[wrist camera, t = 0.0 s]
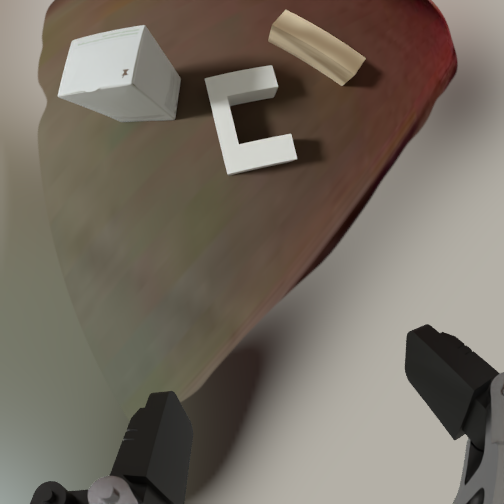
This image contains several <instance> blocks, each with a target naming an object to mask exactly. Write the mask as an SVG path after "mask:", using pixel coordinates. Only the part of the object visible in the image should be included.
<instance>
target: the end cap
mask: <svg viewBox="0 0 504 504" xmlns="http://www.w3.org/2000/svg"><path fill="white" fill-rule="evenodd" d="M205 83H206V87H207V91H208V95H209V100H210V104H211V108H212V112H213V116H214V120H215V125H216V129H217V133H218V137H219V141H220V145H221V149H222V154H223V158H224V162H225V166H226V170H227V174H228V175H229V176H230V175H234V174H238V173H242V172H246V171H251V170H255V169H260V168H264V167H269V166H273V165H278V164H283V163H288V162H291V161H294V160H296V159H297V156H296V151H295V147H294V143H293V139H292V135H291V134H287V135H282V136H276V137H271V138H266V139H261V140H257V141H252V142H247V143H243V144H239V143H238V139H237V134H236V130H235V126H234V122H233V118H232V114H231V110H230V106H233V105H238V104H243V103H247V102H252V101H258V100H263V99H269V98H274V96H275V93H276V91H277V89H278V84H277V80H276V77H275V74H274V70H273V67H272V65H270V66H263V67H257V68H251V69H246V70H240V71H235V72H230V73H226V74H221V75H217V76H213V77H209V78H205Z"/></svg>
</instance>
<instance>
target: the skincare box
mask: <svg viewBox="0 0 504 504" xmlns="http://www.w3.org/2000/svg"><path fill="white" fill-rule="evenodd" d="M180 82H181V78H180V76H179V75H178V73H177V72H176V70H175V69H174V67H173V66H172V64H171V63H170V61H169V60H168V58H167V57H166V55H165V54H164V52H163V51H162V49H161V48H160V46H159V45H158V43H157V42H156V41H155V39H154V38H153V36H152V35H151V33H150V32H149V30H148V29H147V27H146V26H145V25H141V26H135V27H129V28H123V29H118V30H113V31H108V32H103V33H99V34H95V35H91V36H87V37H83V38H79V39H76V40H73V41H72V43H71V46H70V50H69V53H68V57H67V61H66V64H65V68H64V72H63V76H62V80H61V84H60V89H59V93H58V97H59V98H62V99H65V100H67V101H70V102H73V103H76V104H78V105H81V106H83V107H86V108H89V109H91V110H94V111H96V112H99V113H101V114H104V115H106V116H109V117H111V118H113V119H116V120H118V121H120V122H135V121H163V120H175V118H176V110H177V103H178V96H179V89H180Z"/></svg>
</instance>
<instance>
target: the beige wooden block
mask: <svg viewBox="0 0 504 504" xmlns="http://www.w3.org/2000/svg"><path fill="white" fill-rule="evenodd" d="M268 42H270V43H272V44H274V45H276V46H278V47H280V48H282V49H283V50H285V51H287V52H289V53H291V54H292V55H294V56H296V57H297V58H299V59H301V60H303V61H304V62H306V63H307V64H309V65H311V66H312V67H314V68H316V69H317V70H319V71H320V72H322V73H323V74H325V75H326V76H328V77H329V78H331V79H332V80H334V81H335V82H337V83H338V84H340V85H341V86H343V85H344V84H345V83H346V82H347V81H349V80H350V79H351V78H352V77H353V76H354V75H355V74H356V73H357V71H358V69H359V68H360V66H361V65H362V63H363V62H364V60H365V59H366V58H365V57H363V56H362V55H361V54H359V53H358V52H356V51H355V50H353V49H352V48H351V47H349V46H348V45H346V44H345V43H343V42H342V41H340V40H338V39H337V38H335V37H334V36H332V35H331V34H329V33H327V32H326V31H324V30H322V29H321V28H319V27H317V26H315V25H314V24H312V23H310V22H308V21H307V20H305V19H303V18H301V17H299V16H297V15H295V14H293V13H291V12H289V11H287V10H285V11H284V12H283V13H282V14H281V15H280V17H279V18H278V19H277V20H276V21H275V22H274V23H273V24H272V27H271V31H270V35H269V40H268Z"/></svg>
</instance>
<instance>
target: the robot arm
mask: <svg viewBox="0 0 504 504" xmlns="http://www.w3.org/2000/svg"><path fill="white" fill-rule="evenodd" d="M405 372H406V376H407V378H408V380H409V382H410V383H411V384H412V386H413V387H414V388H415V389H416V391H417V392H418V393H419V394H420V396H421V397H422V398H423V400H424V401H425V402H426V403H427V405H428V406H429V407H430V409H431V410H432V411H433V413H434V414H435V415H436V416H437V418H438V419H439V420H440V422H441V423H442V424H443V426H444V427H445V428H446V430H447V431H448V432H449V434H450V435H451V436H452V438H453V439H454V440H456V439H458V438H460V437H461V436H463V435H464V434H466V435H467V436H468V441H467V445H466V453H465V460H464V467H463V472H462V477H461V482H460V487H459V490H458V493H457V496H456V498H455V500H454V502H453V504H504V372H503V373H501V374H500V373H498V372H497V371H496V370H495V369H494V368H492V367H491V366H490V365H489V364H488V363H487V362H486V361H484V360H483V359H482V358H481V357H479V356H478V355H477V354H476V353H475V352H472V350H471V349H470V348H469V347H467V346H465V345H464V343H462V342H461V341H460V340H459V339H458V338H456V337H455V336H452V335H449V334H447V333H444V332H442V333H439V332H437V331H436V330H435V329H434V328H432V326H430V325H428V324H427V325H424V326H421V327H419V328H417V329H414V330H412V331H410V332H409V333H408V334H407V340H406V358H405ZM192 440H193V429H192V425H191V422H190V420H189V418H188V416H187V414H186V412H185V411H184V409H183V407H182V405H181V403H180V401H179V399H178V398H177V396H176V394H175V393H174V392H173V391H168V392H158V393H151V394H150V396H149V398H148V401H147V404H146V406H145V408H140V409H139V410H138V411H137V412H136V413H135V415H134V416H133V417H132V418H131V420H130V423H129V425H128V428H127V432H126V433H125V436H124V441H122V444H121V446H120V449H119V452H118V455H117V457H116V460H115V463H114V465H113V468H112V471H111V474H110V476H105V477H102V478H99V479H98V480H96V481H95V482H94V483H93V484H92V485H91V486H90V488H89V490H80V491H67V490H66V489H65V488H64V487H63V486H62V485H61V484H59V483H57V482H53V481H49V482H45V483H43V484H41V485H40V486H39V487H38V488H37V489H36V491H35V493H34V495H33V498H32V500H31V503H30V504H184V501H185V493H186V485H187V477H188V476H187V475H188V469H189V462H190V454H191V447H192Z"/></svg>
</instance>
